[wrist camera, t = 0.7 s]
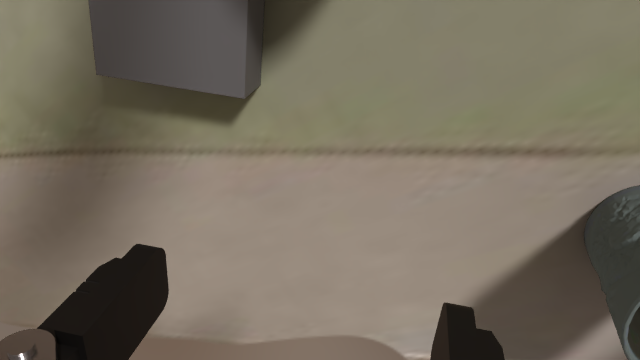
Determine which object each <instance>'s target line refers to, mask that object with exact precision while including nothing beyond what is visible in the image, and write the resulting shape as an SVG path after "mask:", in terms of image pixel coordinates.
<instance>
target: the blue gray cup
mask: <svg viewBox="0 0 640 360" xmlns="http://www.w3.org/2000/svg"><path fill="white" fill-rule="evenodd" d="M584 240H585V246H586V249H587V252H588V255H589V258H590V260H591V263H592V265H593V267H594V268H595V270H596V271H597V273H598V275H599V278H600V281H601V288H602V291H603V292H604V293H605V294H606V302H607V304H608V307H609V311H610V313H611V316H612V319H613V322H614V325H615V327H616V330H617V333H618V336H619V339H620V342H621V345H622V348H623V350H624V353H625V355H626V357H627V359H628V360H640V185H639V186H634V187H630V188H627V189H624V190H621V191H619V192H617V193H615V194H613V195H611V196H610V197H608V198H607V199H605V200H604V201H603V202H602V203H600V204H599V205H598V206H597V207H596V208H595V210H594V211H593V212H592V214H591V215H590V217H589V219H588V221H587V223H586V227H585V231H584Z"/></svg>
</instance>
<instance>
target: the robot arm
mask: <svg viewBox="0 0 640 360" xmlns="http://www.w3.org/2000/svg"><path fill="white" fill-rule="evenodd" d="M168 291H169V290H168V277H167V265H166V254H165V251H164V249H162V248H158V247H153V246H147V245H142V244H136V245H134V246H133V247H132V248H131V249H130V250H129V252H128V253H127V254H126V255H125V256H124V257H123V258H122V259H120V258H114V259H112V260H110V261H109V262H107V263H105V264H103V265H101V266H99V267H98V268H97V269H96V270H95V271H94V272H93V273H92V274H91V275H90V276H89V277H88V278H87V279H86V282H83V283H82V284H81V285H80V286H79V287H78V288H77V289H76V292H73V293H72V294H71V295H70V296H69V297H68V298H67V299H66V300H65V301H64V302H63V303H62V304H61V305H60V306H59V307H58V308H57V309H56V310H55V311H54V312H53V313H52V314H51V315H50V316H49V317H48V318H47V319H46V320H45V321H44V322H43V323H42V324H41V325H40V326H39V327H38V328H37V329H27V330H23V331H19V332H16V333H14V334H11V335H9V336H7V337H5V338H4V339H2V340H1V341H0V360H128V359H129V358H130V356H131V355H132V353H133V352H134V351H135V349H136V348H137V346H138V345H139V344H140V342H141V341H142V339H143V338H144V337H145V335H146V334H147V332H148V331H149V329H150V328H151V327H152V325H153V324H154V322H155V321H156V320H157V318H158V317H159V315H160V314H161V312H162V311H163V309H164V307H165V305H166V302H167V298H168ZM431 360H505V359H504V354H503V349H502V347H501V345H500V344H499V342H498V341H497V339H496V338H495V336H494V335H493V333H492V332H491V331H487V330H482V329H477V328H476V324H475V316H474V310H473V308H472V307H466V306H461V305H456V304H450V303H444V304H443V307H442V310H441V314H440V318H439V322H438V326H437V329H436V333H435V337H434V341H433V345H432V351H431Z"/></svg>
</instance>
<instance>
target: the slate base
mask: <svg viewBox="0 0 640 360" xmlns="http://www.w3.org/2000/svg"><path fill="white" fill-rule="evenodd" d="M264 2H265V0H89V9H90V19H91V28H92V37H93V47H94V56H95V65H96V74H97V75H102V76H108V77H114V78H120V79H126V80H133V81H139V82H145V83H151V84H157V85H163V86H169V87H176V88H182V89H188V90H194V91H200V92H206V93H212V94H218V95H225V96H231V97H237V98H243V99H245V98H246V97H247V96H248V95H249V94H251V93H252V92H253V91H254V90H255V89H257V88H258V87H259V86H260V83H261V63H262V42H263V22H264Z"/></svg>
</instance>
